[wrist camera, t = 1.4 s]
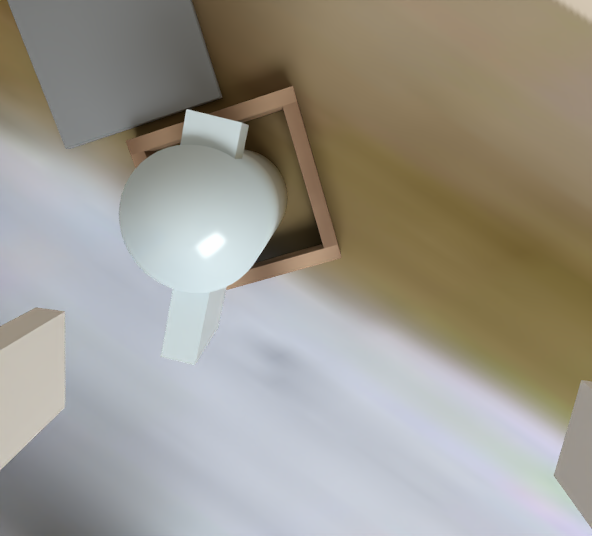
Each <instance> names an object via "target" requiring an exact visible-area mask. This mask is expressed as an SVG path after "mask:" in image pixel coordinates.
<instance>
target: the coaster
mask: <svg viewBox="0 0 592 536" xmlns="http://www.w3.org/2000/svg"><path fill="white" fill-rule="evenodd" d="M7 1H8V3H9V6H10V9H11V11H12V14H13V16H14V19H15V21H16V24H17V26H18V29H19V31H20V34H21V36H22V39H23V41H24V44H25V47H26V49H27V52H28V54H29V57H30V59H31V62H32V64H33V67H34V69H35V72H36V74H37V77H38V80H39V82H40V85H41V87H42V90H43V92H44V95H45V97H46V100H47V102H48V105H49V107H50V110H51V112H52V115H53V118H54V120H55V123H56V125H57V128H58V130H59V133H60V135H61V138H62V140H63V143H64V145H65V148H66V149H71V148H74V147H77V146H80V145H83V144H86V143H89V142H92V141H95V140H98V139H101V138H104V137H107V136H110V135H113V134H116V133H119V132H122V131H125V130H128V129H131V128H134V127H137V126H140V125H143V124H146V123H149V122H152V121H155V120H158V119H161V118H164V117H167V116H170V115H173V114H176V113H179V112H182V111H185V110H186V109H191V108H194V107H197V106H200V105H203V104H206V103H209V102H212V101H215V100H218V99H221V98H222V94H221V91H220V88H219V85H218V82H217V79H216V76H215V72H214V69H213V66H212V63H211V60H210V57H209V53H208V50H207V47H206V44H205V41H204V38H203V34H202V31H201V28H200V25H199V22H198V19H197V16H196V12H195V9H194V6H193V3H192V0H7Z"/></svg>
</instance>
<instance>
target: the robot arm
mask: <svg viewBox="0 0 592 536" xmlns="http://www.w3.org/2000/svg"><path fill="white" fill-rule="evenodd" d="M64 408H65V311H58V310H50V309H43V308H34V309H32V310H30V311H28V312H27V313H25V314H23V315H21V316H19V317H17V318H15V319H13V320H11V321H9V322H8V323H6V324H4V325H2V326H0V470H1V469H2V468H3V467H4V466H5V465H6V464H7V463H8V462H9V461H10V460H11V459H12V458H13V457H14V456H16V455H17V454H18V453H19V452H20V451H21V450H22V449H23V448H24V447H25V446H26V445H27V444H28V443H29V442H30V441H31V440H32V439H33V438H34V437H35V436H36V435H37V434H38V433H39V432H40V431H41V430H42V429H43V428H44V427H45V426H46V425H47V424H49V423H50V422H51V421H52V420H53V419H54V418H55V417H56V416H57V415H58V414H59V413H60V412H61V411H62V410H63V409H64ZM554 477H555V478H556V479H557V481H558V482H559V483H560V485H561V486H562V488H563V489H564V490H565V492H566V493H567V495H568V496H569V497H570V499H571V500H572V502H573V503H574V504H575V506H576V507H577V509H578V510H579V511H580V513H581V514H582V516H583V517H584V518H585V520H586V521H587V523H588V524H589V525H590V527H591V528H592V382H590V381H583V380H581V384H580V387H579V391H578V394H577V398H576V401H575V404H574V408H573V411H572V415H571V418H570V422H569V425H568V429H567V432H566V435H565V439H564V442H563V446H562V449H561V453H560V456H559V459H558V463H557V466H556V470H555V473H554Z"/></svg>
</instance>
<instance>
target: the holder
mask: <svg viewBox="0 0 592 536" xmlns="http://www.w3.org/2000/svg"><path fill="white" fill-rule="evenodd" d="M280 110H284V113H285V116H286V120H287V123H288V127H289V130H290V134H291V137H292V140H293V144H294V147H295V151H296V154H297V158H298V161H299V164H300V168H301V171H302V175H303V178H304V182H305V185H306V188H307V192H308V195H309V199H310V202H311V206H312V209H313V212H314V216H315V219H316V223H317V226H318V230H319V233H320V236H321V240H322V243H323V244H320V245H316V246H313V247H309V248H306V249H302V250H299V251H295V252H292V253H288V254H285V255H281V256H278V257H274V258H271V259H267V260H264V261H260V262H257V263H254V264H253V266H252V267H251V268H250V269H249V271H248V272H247V273H246V274H245V275H243V276H242V277H241V278H240V279H239V280H237V281H236V282H234V283H233V284H231V285H229V286H227V288H226V290H228V289H232V288H235V287H239V286H243V285H246V284H250V283H253V282H257V281H260V280H264V279H268V278H271V277H275V276H278V275H282V274H286V273H289V272H293V271H296V270H300V269H304V268H307V267H311V266H314V265H318V264H321V263H325V262H329V261H332V260H336V259H339V258H341V252H340V249H339V245H338V242H337V238H336V235H335V231H334V228H333V224H332V221H331V217H330V214H329V210H328V207H327V203H326V200H325V196H324V193H323V189H322V186H321V182H320V179H319V175H318V171H317V168H316V164H315V161H314V157H313V154H312V150H311V147H310V143H309V140H308V136H307V133H306V129H305V126H304V122H303V119H302V115H301V112H300V108H299V105H298V101H297V98H296V94H295V91H294V88H293V86H291V87H288V88H285V89H282V90H279V91H276V92H273V93H270V94H267V95H264V96H261V97H257V98H254V99H251V100H248V101H245V102H242V103H239V104H236V105H233V106H230V107H227V108H224V109H221V110H218V111H215V112H212V113H209V115H213V116H217V117H221V118H225V119H229V120H233V121H238V122H242V123H243V122H246V121H249V120H253V119H256V118H259V117H262V116H265V115H268V114H271V113H274V112H277V111H280ZM183 126H184V122H182V123H179V124H176V125H172V126H169V127H166V128H163V129H160V130H157V131H154V132H151V133H148V134H145V135H142V136H139V137H136V138H133V139H130V140H127V141H126V143H127V146H128V149H129V151H130V154H131V157H132V160H133V162H134V165H135V168H137V167H138V165H139V164H140V163H141V162H143V161H144V160H145V159H146V158H148V157H149V156H151V155H152V154H154V153H155V151H157V150H160V149H163V148H166V147H169V146H172V145H175V144H178V143H181V138H182V132H183Z"/></svg>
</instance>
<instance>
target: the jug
mask: <svg viewBox="0 0 592 536" xmlns="http://www.w3.org/2000/svg"><path fill="white" fill-rule="evenodd" d="M248 127H249V125H247V124H244V123H242V122H238V121H233V120H229V119H225V118H221V117H217V116H213V115H209V114H205V113H200V112H196V111H192V110H188V109H186V114H185V120H184V126H183V132H182V138H181V144H180V145H176V146H172V147H168V148H165V149H162V150H160V151H157V152H156V153H154V154H152V155H151V156H149V157H148V158H146V159H145V160H144V161H143V162H141V163H140V164H139V165H138V167H137V168H136V169H135V170H134V171H133V173H132V174H131V175H130V177H129V179H128V181H127V183H126V184H125V187H124V190H123V192H122V196H121V200H120V207H119V222H120V228H121V233H122V237H123V240H124V243H125V245H126V247H127V249H128V251H129V253H130V255H131V256H132V258H133V259H134V261H135V262H136V263H137V264H138V266H139V267H140V268H141V269H142V270H143V271H144V272H145V273H146V274H147V275H149V276H150V277H151V278H152V279H154V280H155V281H157V282H159V283H160V284H162V285H164V286H167V287H169V288H171V289H173V291H172V296H171V302H170V307H169V313H168V319H167V324H166V330H165V336H164V341H163V347H162V352H161V357H163V358H167V359H171V360H175V361H179V362H183V363H188V364H192V365H196V363H197V361H198V360H199V358H200V357H201V355H202V353H203V352H204V350H205V348H206V347H207V345H208V344H209V342H210V340H211V339H212V337H213V335H214V334H215V332H216V331H217V329H218V327H219V322H220V317H221V313H222V308H223V303H224V298H225V293H226V288H227V286H229V285H231V284H233V283H234V282H236V281H237V280H239V279H240V278H241V277H242V276H243V275H245V274H246V273H247V272H248V271H249V269H250V268H251V267H252V266H253V264H254V263H255V261H256V260H257V258H258V257H259V255H260V254H261V252H262V251H263V249H264V248H265V246H266V244H267V243H268V241H269V240H270V238H271V237H272V235H273V234H274V232H275V231H276V229H277V228H278V226H279V224H280V223H281V221H282V219H283V217H284V215H285V212H286V208H287V189H286V185H285V182H284V179H283V177H282V175H281V173H280V172H279V170H278V169H277V167H276V166H275V165H274V164H273V163H272V162H271V161H270V160H269V159H267V158H266V157H264V156H263V155H261V154H259V153H257V152H254V151H250V150H245V149H244V147H245V142H246V137H247V132H248Z"/></svg>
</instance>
